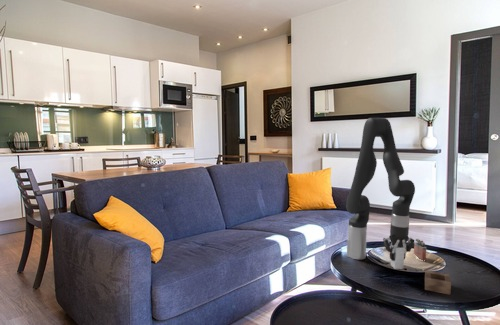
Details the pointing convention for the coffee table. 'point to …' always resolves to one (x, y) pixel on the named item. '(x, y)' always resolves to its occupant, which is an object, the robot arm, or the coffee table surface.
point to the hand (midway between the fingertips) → (397, 259)
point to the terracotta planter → (420, 249)
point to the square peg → (398, 258)
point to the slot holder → (437, 282)
